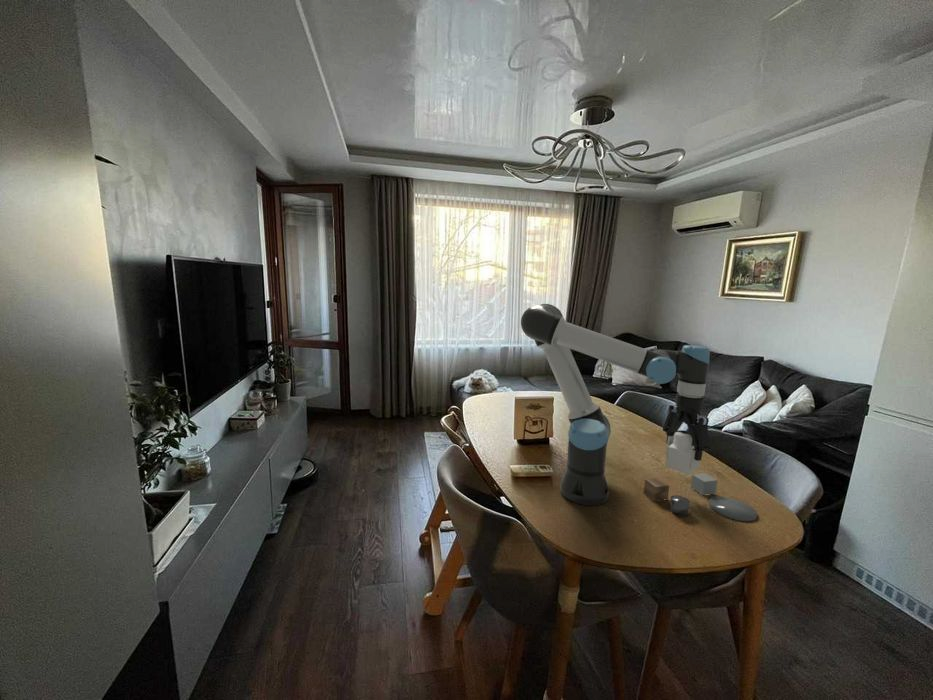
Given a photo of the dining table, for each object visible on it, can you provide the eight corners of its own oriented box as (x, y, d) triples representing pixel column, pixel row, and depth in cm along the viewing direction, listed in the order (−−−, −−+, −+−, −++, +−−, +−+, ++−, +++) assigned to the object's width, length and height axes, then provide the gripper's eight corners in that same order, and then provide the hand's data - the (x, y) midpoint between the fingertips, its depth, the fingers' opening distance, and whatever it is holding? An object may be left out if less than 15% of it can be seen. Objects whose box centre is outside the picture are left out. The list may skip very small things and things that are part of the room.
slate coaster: (732, 523, 109) (733, 520, 109) (699, 500, 121) (699, 498, 121) (766, 518, 112) (767, 516, 112) (731, 497, 123) (731, 494, 123)
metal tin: (677, 517, 112) (679, 505, 111) (665, 508, 117) (667, 496, 116) (692, 515, 113) (693, 503, 112) (679, 506, 118) (681, 494, 117)
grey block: (702, 496, 124) (704, 481, 123) (690, 488, 129) (692, 474, 128) (715, 494, 125) (717, 480, 124) (703, 486, 130) (704, 473, 129)
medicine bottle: (672, 460, 129) (676, 426, 127) (696, 468, 124) (701, 433, 122) (665, 467, 124) (669, 432, 122) (689, 475, 119) (694, 438, 117)
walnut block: (653, 501, 120) (655, 486, 120) (643, 493, 125) (644, 479, 124) (667, 500, 121) (669, 485, 121) (656, 491, 126) (658, 477, 125)
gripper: (731, 405, 110) (720, 477, 114) (674, 385, 131) (667, 446, 135) (709, 405, 108) (698, 479, 112) (655, 385, 130) (648, 447, 133)
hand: (681, 461), depth 123 cm, fingers closed on medicine bottle, 10 cm apart
